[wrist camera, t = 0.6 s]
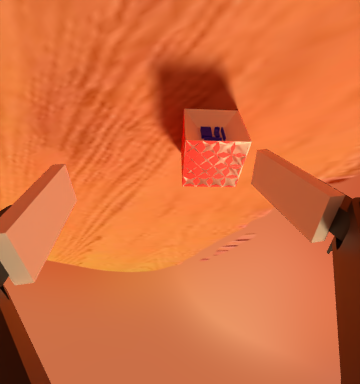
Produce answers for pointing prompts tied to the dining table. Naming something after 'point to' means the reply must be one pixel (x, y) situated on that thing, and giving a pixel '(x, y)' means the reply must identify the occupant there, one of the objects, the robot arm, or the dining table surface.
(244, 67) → the dining table surface
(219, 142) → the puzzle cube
